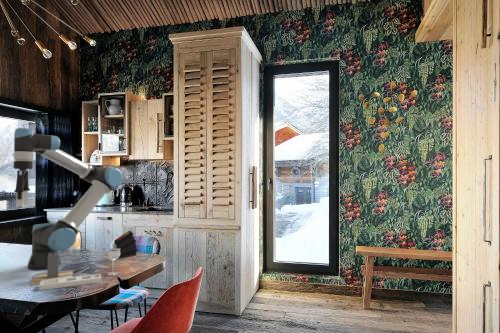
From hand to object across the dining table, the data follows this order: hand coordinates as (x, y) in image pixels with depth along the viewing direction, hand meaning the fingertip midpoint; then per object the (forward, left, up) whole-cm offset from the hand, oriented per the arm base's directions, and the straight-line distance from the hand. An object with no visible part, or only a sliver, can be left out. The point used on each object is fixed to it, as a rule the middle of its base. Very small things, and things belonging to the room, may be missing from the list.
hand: (22, 205), depth 157 cm
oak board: (+7, +14, -35) cm, 38 cm away
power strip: (+20, +22, -35) cm, 46 cm away
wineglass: (+10, +40, -35) cm, 54 cm away
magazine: (-24, +50, -35) cm, 65 cm away
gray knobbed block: (+7, +14, -34) cm, 37 cm away
